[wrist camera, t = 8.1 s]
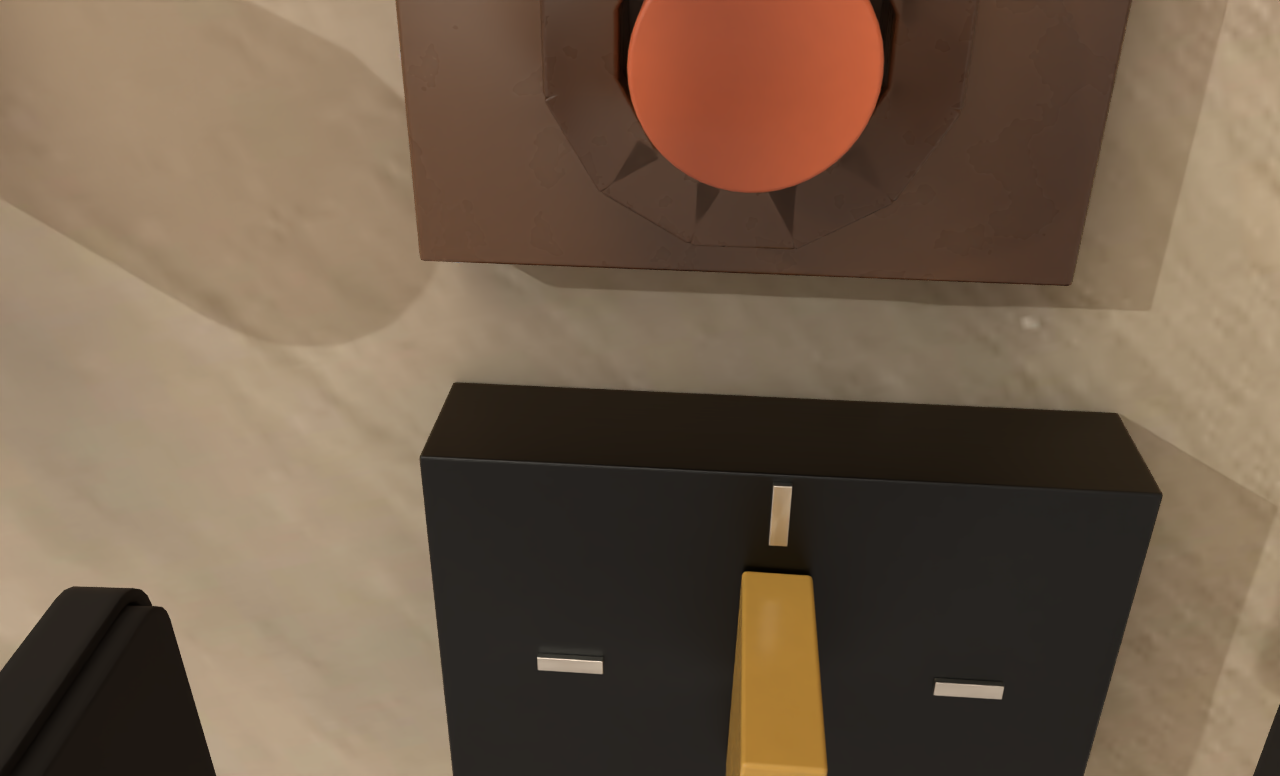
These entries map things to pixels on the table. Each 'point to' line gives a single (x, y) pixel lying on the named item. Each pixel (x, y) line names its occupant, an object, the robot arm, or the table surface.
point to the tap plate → (777, 543)
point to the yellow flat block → (776, 681)
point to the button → (754, 86)
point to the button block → (777, 220)
